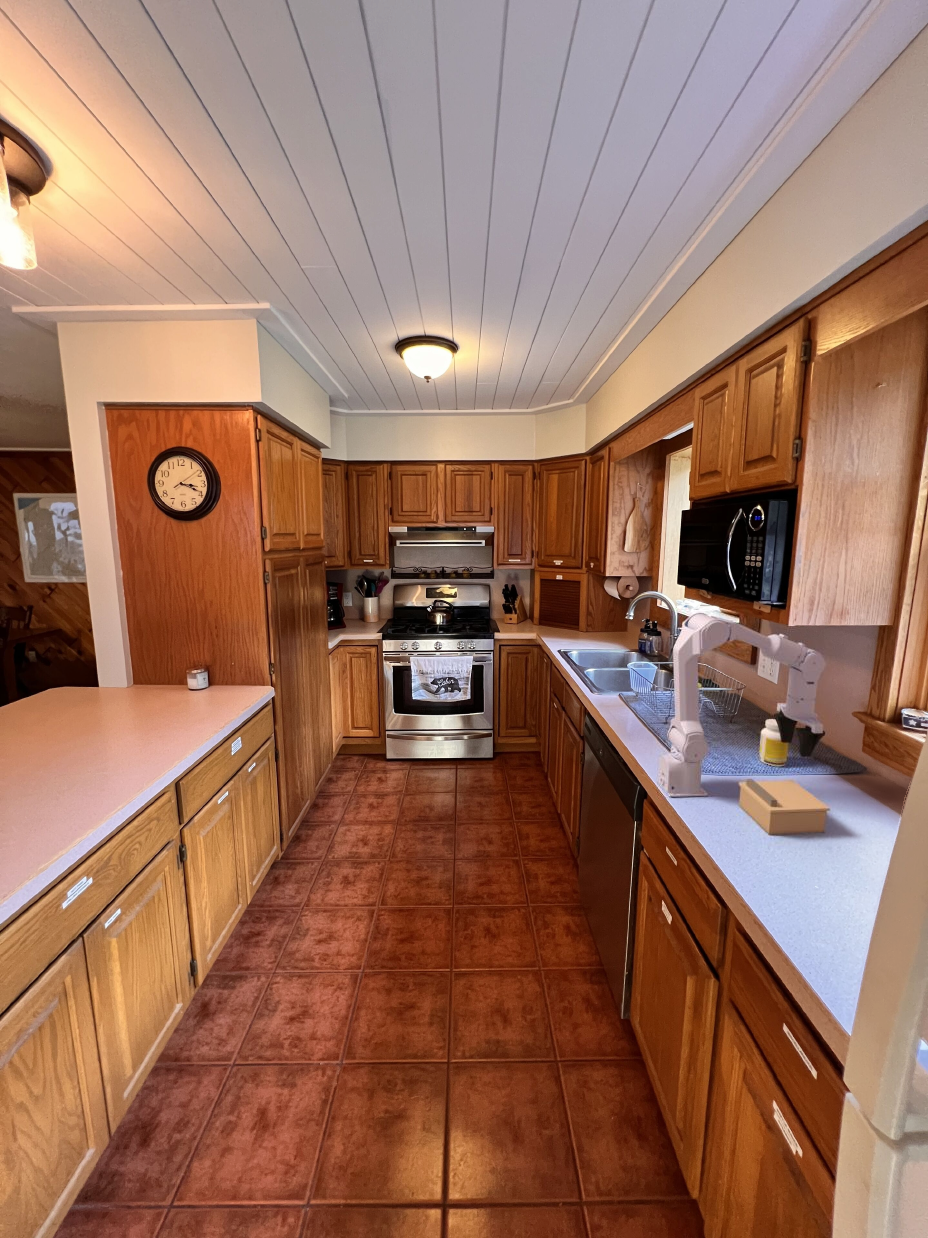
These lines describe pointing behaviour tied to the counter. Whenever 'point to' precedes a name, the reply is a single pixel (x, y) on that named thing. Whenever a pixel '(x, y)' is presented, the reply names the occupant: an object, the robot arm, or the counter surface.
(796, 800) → the lid
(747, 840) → the counter surface
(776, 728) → the pill bottle
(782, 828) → the mailer box
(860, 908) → the counter surface
